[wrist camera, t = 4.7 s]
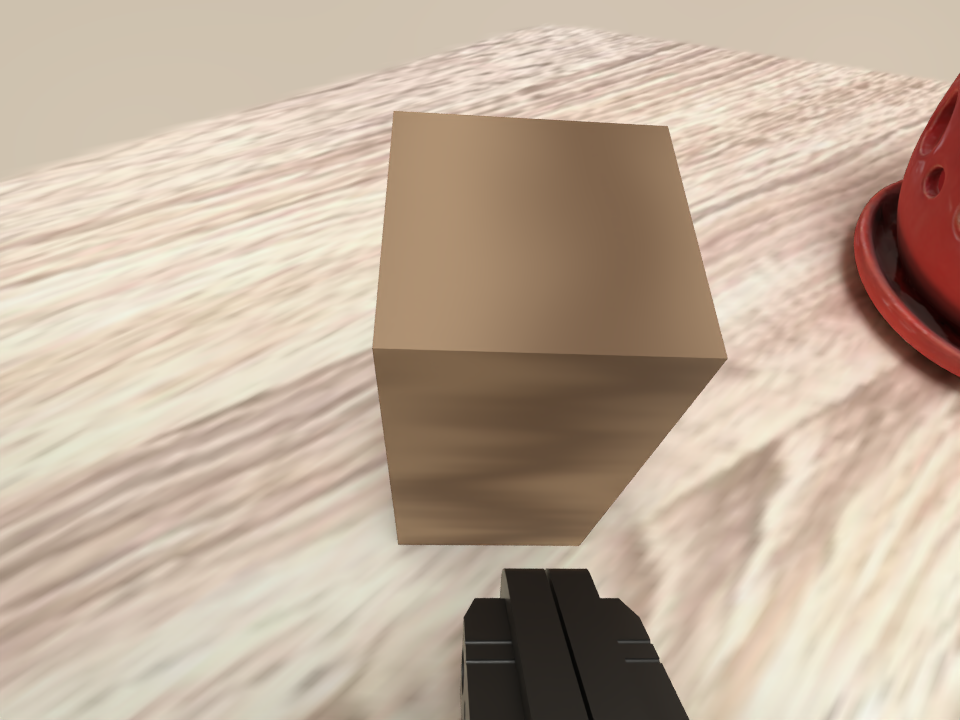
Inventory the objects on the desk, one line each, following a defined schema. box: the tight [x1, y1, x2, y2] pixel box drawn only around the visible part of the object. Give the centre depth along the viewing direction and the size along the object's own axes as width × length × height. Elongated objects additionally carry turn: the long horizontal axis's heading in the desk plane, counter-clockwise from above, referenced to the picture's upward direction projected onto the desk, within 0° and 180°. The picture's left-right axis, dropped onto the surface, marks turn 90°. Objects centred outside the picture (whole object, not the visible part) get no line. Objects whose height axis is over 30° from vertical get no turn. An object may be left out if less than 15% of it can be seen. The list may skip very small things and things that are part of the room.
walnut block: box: [372, 111, 728, 546], centre depth 17 cm, size 6×6×12 cm
